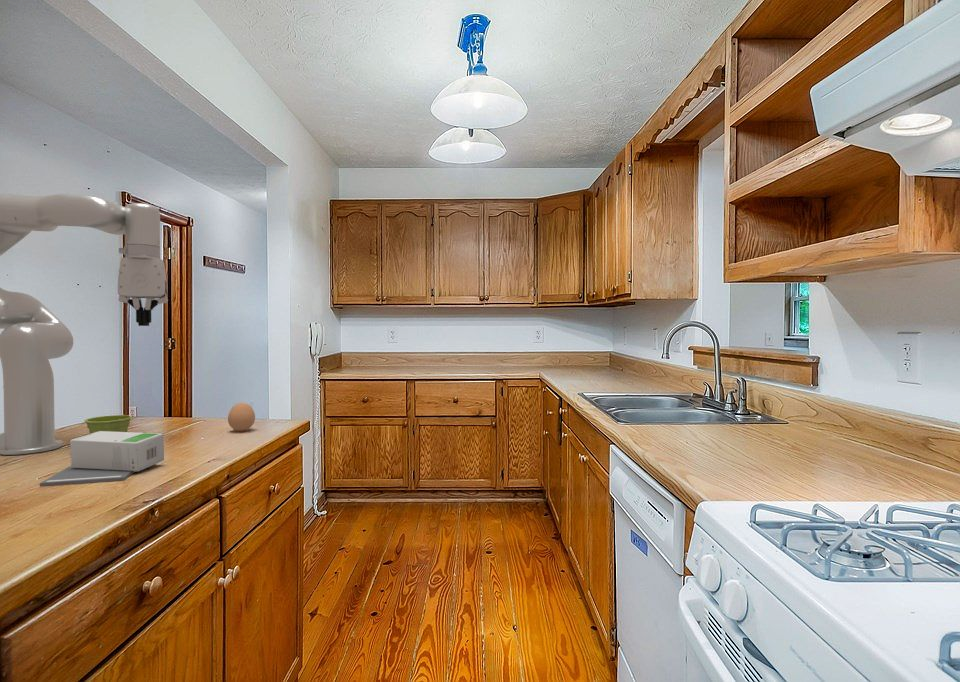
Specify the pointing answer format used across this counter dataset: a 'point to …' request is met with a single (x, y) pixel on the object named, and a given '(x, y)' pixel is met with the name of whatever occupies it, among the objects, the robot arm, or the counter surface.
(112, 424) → the plant pot
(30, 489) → the counter surface
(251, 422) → the egg
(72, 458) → the skincare box
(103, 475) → the mat
